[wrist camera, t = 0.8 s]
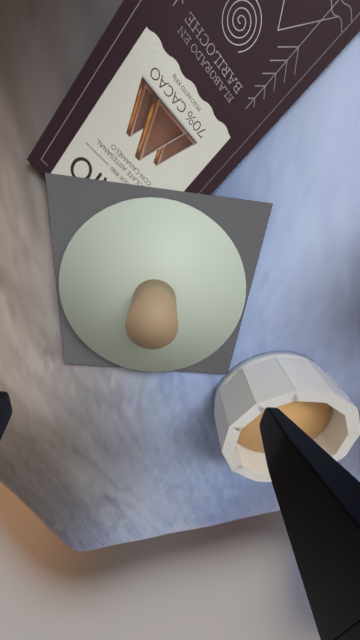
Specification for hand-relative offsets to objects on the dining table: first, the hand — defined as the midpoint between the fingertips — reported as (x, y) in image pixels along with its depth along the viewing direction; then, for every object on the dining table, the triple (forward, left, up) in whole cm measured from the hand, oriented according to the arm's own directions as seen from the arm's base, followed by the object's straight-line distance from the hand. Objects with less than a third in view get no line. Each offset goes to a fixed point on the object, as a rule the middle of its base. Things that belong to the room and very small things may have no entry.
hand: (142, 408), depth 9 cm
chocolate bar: (-1, -12, -12) cm, 17 cm away
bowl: (-12, +10, -12) cm, 20 cm away
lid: (0, 0, -11) cm, 11 cm away
